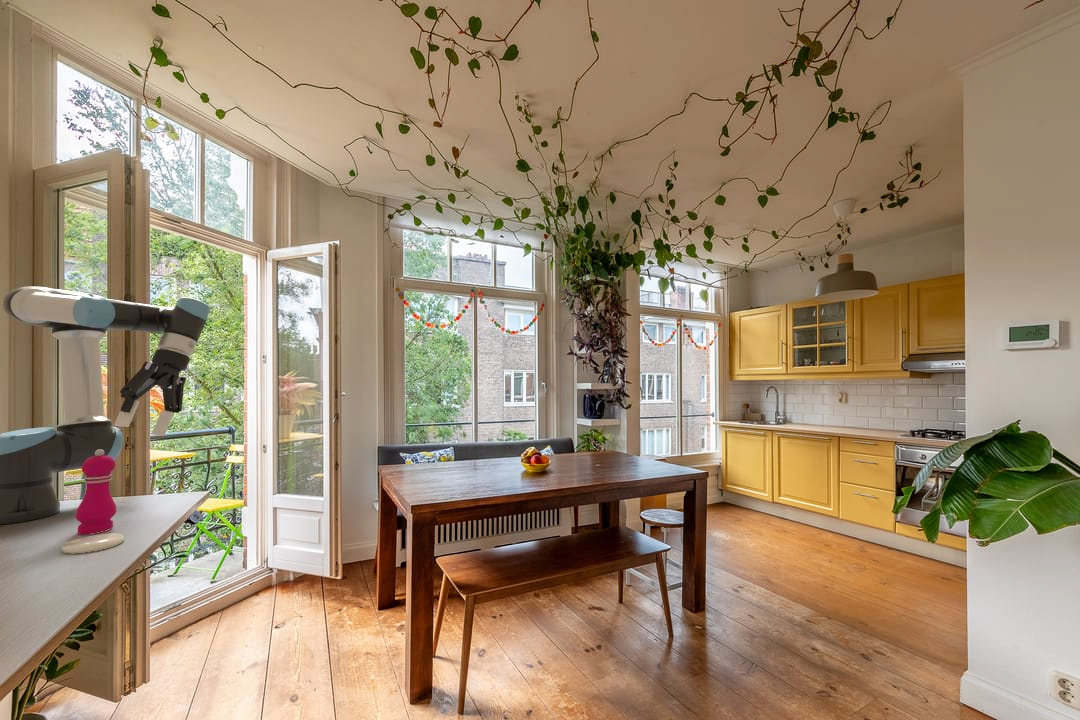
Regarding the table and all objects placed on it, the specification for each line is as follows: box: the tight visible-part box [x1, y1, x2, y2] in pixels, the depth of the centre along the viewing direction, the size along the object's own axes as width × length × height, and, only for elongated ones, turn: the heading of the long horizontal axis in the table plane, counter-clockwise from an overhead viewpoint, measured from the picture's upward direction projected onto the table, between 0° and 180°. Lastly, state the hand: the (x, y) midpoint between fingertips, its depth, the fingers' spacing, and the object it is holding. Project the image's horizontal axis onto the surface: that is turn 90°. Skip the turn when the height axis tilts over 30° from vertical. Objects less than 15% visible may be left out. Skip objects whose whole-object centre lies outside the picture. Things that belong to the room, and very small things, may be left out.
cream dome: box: [61, 532, 125, 555], centre depth 103 cm, size 10×10×1 cm
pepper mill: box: [75, 449, 117, 535], centre depth 113 cm, size 7×7×20 cm
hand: (140, 431), depth 115 cm, fingers open, 13 cm apart
